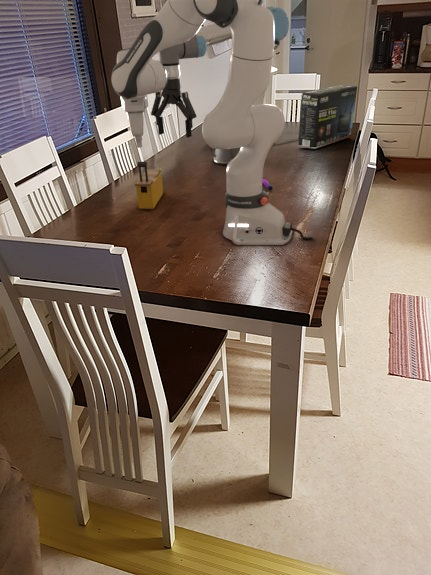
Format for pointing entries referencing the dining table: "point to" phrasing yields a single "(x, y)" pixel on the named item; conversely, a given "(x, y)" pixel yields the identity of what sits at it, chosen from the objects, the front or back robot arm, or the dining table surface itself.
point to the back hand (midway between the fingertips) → (174, 135)
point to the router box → (326, 115)
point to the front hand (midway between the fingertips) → (139, 143)
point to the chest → (150, 193)
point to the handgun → (267, 184)
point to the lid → (146, 175)
